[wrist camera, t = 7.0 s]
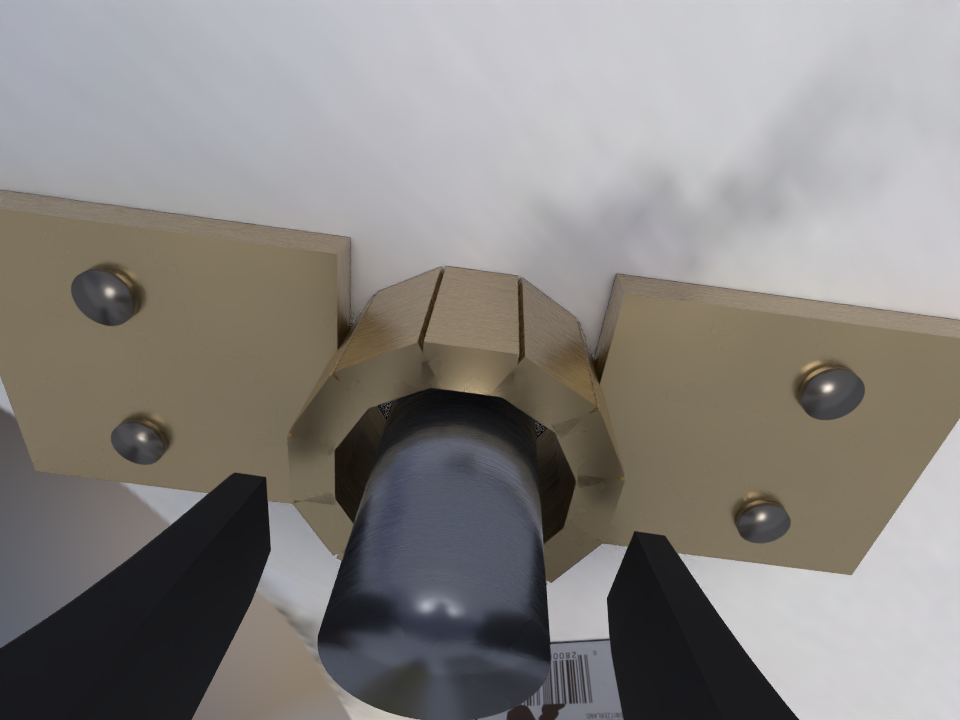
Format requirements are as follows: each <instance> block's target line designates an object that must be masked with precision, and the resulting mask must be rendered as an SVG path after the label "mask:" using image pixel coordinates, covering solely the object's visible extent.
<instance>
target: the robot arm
mask: <svg viewBox="0 0 960 720" xmlns="http://www.w3.org/2000/svg"><path fill="white" fill-rule="evenodd" d="M270 551H271V546H270V530H269V514H268V497H267V481H266V477H263V476H256V475H249V474H243V473H236V472H234V473H233V474H231V475H230V476H229V477H227V478H226V479H225V480H224V481H223V482H221V483H220V484H219V485H218V486H217V487H216V488H214V489H213V490H212V491H211V492H210V493H209V494H207V495H206V496H205V497H204V498H203V499H202V500H200V501H199V502H198V503H197V504H196V505H194V506H193V507H192V508H191V509H190V510H189V511H187V512H186V513H185V514H184V515H183V516H181V517H180V518H179V519H178V520H177V521H175V522H174V523H173V524H172V525H171V526H169V527H168V528H167V529H166V530H164V531H163V532H162V533H161V534H159V535H158V536H157V537H156V538H154V539H153V540H152V541H151V542H149V543H148V544H147V545H146V546H144V547H143V548H142V549H141V550H139V551H138V552H137V553H136V554H134V555H133V556H132V557H130V558H129V559H128V560H127V561H125V562H124V563H123V564H121V565H120V566H119V567H117V568H116V569H115V570H113V571H112V572H110V573H109V574H108V575H106V576H105V577H104V578H102V579H101V580H100V581H99V582H97V583H96V584H94V585H93V586H92V587H90V588H89V589H88V590H86V591H85V592H84V593H82V594H81V595H80V596H78V597H76V598H75V599H74V600H72V601H71V602H69V603H68V604H66V605H65V606H64V607H62V608H61V609H60V610H58V611H56V612H55V613H53V614H52V615H51V616H49V617H48V618H46V619H45V620H43V621H42V622H40V623H39V624H37V625H36V626H34V627H33V628H31V629H30V630H28V631H26V632H25V633H23V634H22V635H20V636H19V637H17V638H16V639H14V640H13V641H11V642H9V643H8V644H6V645H5V646H3V647H2V648H0V720H192V718H193V716H194V714H195V712H196V710H197V707H198V706H199V704H200V702H201V700H202V698H203V696H204V694H205V692H206V690H207V688H208V686H209V684H210V682H211V681H212V679H213V677H214V675H215V673H216V671H217V669H218V667H219V665H220V663H221V661H222V659H223V657H224V655H225V653H226V651H227V649H228V647H229V645H230V643H231V641H232V640H233V638H234V636H235V633H236V631H237V630H238V627H239V626H240V624H241V622H242V620H243V617H244V615H245V614H246V612H247V610H248V607H249V606H250V604H251V601H252V599H253V596H254V594H255V591H256V589H257V586H258V584H259V581H260V578H261V576H262V573H263V570H264V567H265V565H266V562H267V559H268V556H269V554H270ZM607 606H608V622H609V635H610V647H611V655H612V661H613V667H614V672H615V677H616V683H617V688H618V694H619V699H620V704H621V709H622V714H623V720H799V719H798V718H797V717H796V715H795V714H794V713H793V712H792V711H791V709H790V708H789V707H788V706H787V705H786V703H785V702H784V701H783V700H782V698H781V697H780V696H779V695H778V693H777V692H776V691H775V689H774V688H773V687H772V686H771V684H770V683H769V682H768V681H767V679H766V678H765V677H764V675H763V674H762V673H761V672H760V670H759V669H758V668H757V666H756V665H755V664H754V662H753V661H752V660H751V658H750V657H749V656H748V654H747V653H746V652H745V650H744V649H743V648H742V646H741V645H740V643H739V642H738V641H737V639H736V638H735V637H734V635H733V634H732V632H731V631H730V630H729V628H728V627H727V625H726V624H725V623H724V621H723V620H722V618H721V617H720V616H719V614H718V613H717V611H716V610H715V608H714V607H713V606H712V604H711V603H710V601H709V600H708V598H707V597H706V595H705V594H704V592H703V591H702V589H701V588H700V586H699V585H698V584H697V582H696V581H695V579H694V578H693V576H692V575H691V573H690V572H689V570H688V569H687V567H686V566H685V564H684V563H683V561H682V560H681V558H680V557H679V555H678V554H677V552H676V551H675V549H674V548H673V546H672V545H671V543H670V542H669V540H668V539H667V538H666V536H665V535H658V534H651V533H645V532H638V531H634V533H633V536H632V538H631V541H630V543H629V546H628V548H627V551H626V553H625V555H624V558H623V560H622V563H621V565H620V568H619V570H618V573H617V575H616V577H615V580H614V582H613V585H612V587H611V590H610V592H609V595H608V597H607Z"/></svg>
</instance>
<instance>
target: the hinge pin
mask: <svg viewBox="0 0 960 720" xmlns="http://www.w3.org/2000/svg"><path fill="white" fill-rule="evenodd" d="M318 652H319V656H320V659H321V661H322V664H323V665H324V667H325V669H326V671H327V672H328V673H329V675H330V676H331V677H332V678H333V680H334V681H335V682H336V683H338V684H339V685H340V686H341V687H342V688H343V689H344V690H346V691H347V692H348V693H350V694H351V695H353V696H354V697H356V698H358V699H359V700H361V701H363V702H365V703H367V704H369V705H371V706H373V707H376V708H378V709H381V710H383V711H386V712H389V713H393V714H396V715H400V716H404V717H409V718H414V719H420V720H474V719H481V718H485V717H489V716H493V715H496V714H500V713H503V712H505V711H508V710H510V709H512V708H515V707H516V706H518V705H520V704H522V703H523V702H525V701H526V700H528V699H529V698H530V697H532V696H533V695H534V694H535V693H536V692H537V691H538V690H539V689H540V688H541V686H542V685H543V683H544V682H545V680H546V678H547V676H548V674H549V670H550V666H551V648H550V634H549V619H548V604H547V590H546V575H545V560H544V546H543V531H542V516H541V502H540V487H539V473H538V458H537V443H536V429H535V419H533V418H532V417H530V416H529V415H527V414H526V413H524V412H523V411H521V410H520V409H518V408H517V407H515V406H514V405H512V404H511V403H509V402H508V401H506V400H505V399H503V398H502V397H498V396H491V395H483V394H475V393H468V392H460V391H453V390H445V389H437V388H428V389H425V390H422V391H419V392H416V393H413V394H410V395H407V396H404V397H401V398H398V399H395V400H393V403H392V406H391V409H390V412H389V415H388V418H387V421H386V424H385V428H384V431H383V434H382V437H381V440H380V443H379V446H378V449H377V453H376V456H375V459H374V462H373V465H372V468H371V471H370V474H369V478H368V481H367V484H366V487H365V490H364V493H363V496H362V499H361V503H360V506H359V509H358V512H357V515H356V518H355V521H354V524H353V528H352V531H351V534H350V537H349V540H348V543H347V546H346V549H345V553H344V556H343V559H342V562H341V565H340V568H339V571H338V574H337V578H336V581H335V584H334V587H333V590H332V593H331V596H330V599H329V603H328V606H327V609H326V612H325V615H324V618H323V621H322V624H321V628H320V631H319V634H318Z"/></svg>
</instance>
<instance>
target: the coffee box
mask: <svg viewBox="0 0 960 720" xmlns="http://www.w3.org/2000/svg"><path fill="white" fill-rule="evenodd" d="M550 648H551V666H550V670H549V674H548V676H547V678H546V680H545V682H544V683H543V685H542V686H541V688H540V689H539V690H538V691H537V692H536V693H535V694H534V695H533V696H532V697H530V698H529V699H528V700H526V701H525V702H523V703H522V704H520V705H518V706H516V707H515V708H512V709H510V710H508V711H505V712H503V713H500V714H496V715H493V716H489V717H485V718H481V719H475V720H623V714H622V709H621V704H620V699H619V694H618V688H617V683H616V677H615V672H614V667H613V661H612V655H611V647H610V640H607V641H591V642H576V643H561V644H550Z"/></svg>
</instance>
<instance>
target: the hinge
mask: <svg viewBox="0 0 960 720" xmlns="http://www.w3.org/2000/svg"><path fill="white" fill-rule="evenodd" d="M0 376H1V379H2V382H3V384H4V387H5V390H6V392H7V395H8V398H9V401H10V403H11V406H12V409H13V411H14V414H15V417H16V420H17V422H18V425H19V428H20V430H21V433H22V436H23V439H24V441H25V444H26V447H27V449H28V452H29V455H30V457H31V460H32V463H33V466H34V469H35V471H39V472H47V473H55V474H63V475H71V476H78V477H86V478H94V479H102V480H110V481H117V482H125V483H133V484H141V485H149V486H157V487H165V488H172V489H180V490H188V491H196V492H204V493H210V492H211V491H212V490H213V489H214V488H216V487H217V486H218V485H219V484H220V483H221V482H223V481H224V480H225V479H226V478H227V477H229V476H230V475H231V474H233V473H234V472H236V473H243V474H249V475H256V476H263V477H266V481H267V497H268V501H274V502H282V503H290V504H293V505H294V506H295V507H296V508H297V510H298V511H299V512H300V514H301V515H302V516H303V517H304V519H305V520H306V521H307V523H308V524H309V525H310V526H311V528H312V529H313V530H314V532H315V533H316V534H317V536H318V537H319V538H320V539H321V541H322V542H323V543H324V545H325V546H326V547H327V548H328V550H329V551H330V552H331V554H332V555H336V554H338V555H337V559H339V560H341V561H342V559H343V556H344V553H345V549H346V546H347V543H348V540H349V537H350V534H351V531H352V528H353V524H354V521H355V518H356V515H357V512H358V509H359V506H360V503H361V499H362V496H363V493H364V490H365V487H366V484H367V481H368V478H369V474H370V471H371V468H372V465H373V462H374V459H375V456H376V453H377V449H378V446H379V443H380V440H381V437H382V434H383V431H384V428H385V424H386V421H387V420H386V419H385V417H384V415H383V414H382V412H381V410H380V409H379V407H378V405H380V404H383V403H386V402H389V401H392V400H395V399H398V398H401V397H404V396H407V395H410V394H413V393H416V392H419V391H422V390H425V389H428V388H437V389H445V390H453V391H460V392H468V393H475V394H483V395H491V396H498V397H502V398H503V399H505V400H506V401H508V402H509V403H511V404H512V405H514V406H515V407H517V408H518V409H520V410H521V411H523V412H524V413H526V414H527V415H529V416H530V417H532V418H533V419H535V420H536V421H538V422H539V423H541V424H542V425H544V426H545V427H547V429H546V430H545V431H543V432H542V433H541V434H540V435H539V436H538V437H537V438H536V443H537V458H538V473H539V487H540V502H541V516H542V531H543V546H544V560H545V575H546V585H547V581H549V582H551V583H552V582H553V581H554V580H556V579H557V578H558V577H559V576H561V575H562V574H563V573H565V572H566V571H567V570H568V569H570V568H571V567H572V566H574V565H575V564H576V563H578V562H579V561H580V560H581V559H583V558H584V557H585V556H587V555H588V554H589V553H591V552H592V551H593V550H594V549H596V548H597V547H598V546H600V545H601V544H602V543H604V544H612V545H619V546H627V547H628V546H629V543H630V541H631V538H632V536H633V533H634V531H638V532H645V533H651V534H658V535H665V536H666V538H667V539H668V540H669V542H670V543H671V545H672V546H673V548H674V549H675V551H676V552H677V553H682V554H690V555H698V556H706V557H713V558H721V559H729V560H737V561H745V562H753V563H761V564H768V565H776V566H784V567H792V568H800V569H808V570H815V571H823V572H831V573H839V574H847V575H852V574H853V572H854V571H855V569H856V568H857V567H858V565H859V564H860V562H861V561H862V559H863V558H864V556H865V555H866V554H867V552H868V551H869V549H870V548H871V546H872V545H873V543H874V542H875V540H876V539H877V538H878V536H879V535H880V533H881V532H882V530H883V529H884V527H885V526H886V524H887V523H888V522H889V520H890V519H891V517H892V516H893V514H894V513H895V511H896V510H897V509H898V507H899V506H900V504H901V503H902V501H903V500H904V498H905V497H906V495H907V494H908V493H909V491H910V490H911V488H912V487H913V485H914V484H915V482H916V481H917V480H918V478H919V477H920V475H921V474H922V472H923V471H924V469H925V468H926V466H927V465H928V464H929V462H930V461H931V459H932V458H933V456H934V455H935V453H936V452H937V450H938V449H939V448H940V446H941V445H942V443H943V442H944V440H945V439H946V437H947V436H948V435H949V433H950V432H951V430H952V429H953V427H954V426H955V424H956V423H957V421H958V420H959V419H960V320H953V319H946V318H939V317H931V316H924V315H916V314H909V313H902V312H894V311H887V310H880V309H872V308H865V307H857V306H850V305H843V304H835V303H828V302H821V301H813V300H806V299H799V298H791V297H784V296H776V295H769V294H762V293H754V292H747V291H740V290H732V289H725V288H717V287H710V286H703V285H695V284H688V283H681V282H673V281H666V280H659V279H651V278H644V277H636V276H629V275H622V274H616V278H615V282H614V285H613V289H612V293H611V297H610V301H609V304H608V308H607V312H606V316H605V320H604V324H603V327H602V331H601V335H600V339H599V343H598V346H597V350H596V354H595V358H594V361H593V358H592V355H591V353H590V350H589V347H588V345H587V342H586V339H585V336H584V334H583V331H582V328H581V326H580V323H579V322H577V319H576V318H575V317H574V316H573V315H571V314H570V313H569V312H567V311H566V310H565V309H563V308H562V307H561V306H559V305H558V304H557V303H555V302H554V301H553V300H551V299H550V298H549V297H547V296H546V295H545V294H543V293H542V292H541V291H539V290H538V289H537V288H535V287H534V286H533V285H531V284H530V283H529V282H527V281H526V280H525V279H523V278H522V279H521V280H520V281H519V282H518V276H515V275H507V274H500V273H493V272H485V271H478V270H470V269H463V268H456V267H448V266H446V268H445V272H443V270H442V267H439V268H437V269H434V270H432V271H429V272H427V273H424V274H422V275H419V276H416V277H414V278H411V279H409V280H406V281H404V282H401V283H399V284H396V285H394V286H391V287H388V288H386V289H383V290H381V291H378V292H377V294H376V295H375V294H374V296H373V297H372V298H371V300H370V301H369V303H368V304H367V305H366V307H365V308H364V310H363V311H362V312H361V314H360V315H359V317H358V318H357V319H356V321H355V322H354V324H353V325H352V326H351V328H350V238H349V237H342V236H334V235H327V234H320V233H312V232H305V231H298V230H290V229H283V228H275V227H268V226H261V225H253V224H246V223H239V222H231V221H224V220H216V219H209V218H202V217H194V216H187V215H180V214H172V213H165V212H158V211H150V210H143V209H135V208H128V207H121V206H113V205H106V204H99V203H91V202H84V201H76V200H69V199H62V198H54V197H47V196H40V195H32V194H25V193H18V192H10V191H3V190H0Z"/></svg>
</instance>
